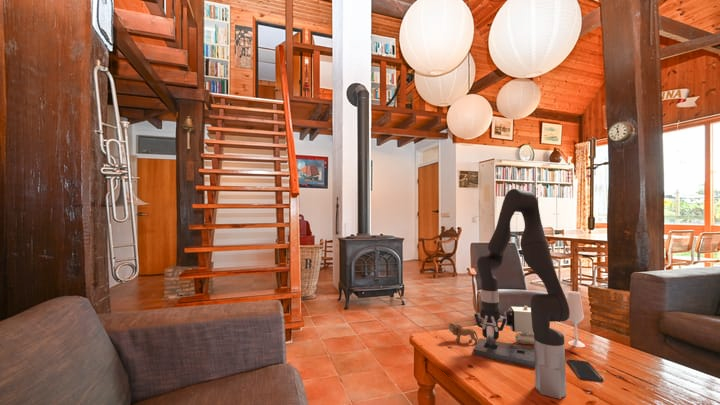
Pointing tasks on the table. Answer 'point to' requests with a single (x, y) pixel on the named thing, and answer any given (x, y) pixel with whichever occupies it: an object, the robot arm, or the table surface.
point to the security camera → (521, 324)
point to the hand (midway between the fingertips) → (490, 338)
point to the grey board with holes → (506, 352)
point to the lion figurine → (462, 331)
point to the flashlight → (490, 334)
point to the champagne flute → (575, 314)
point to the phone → (584, 370)
